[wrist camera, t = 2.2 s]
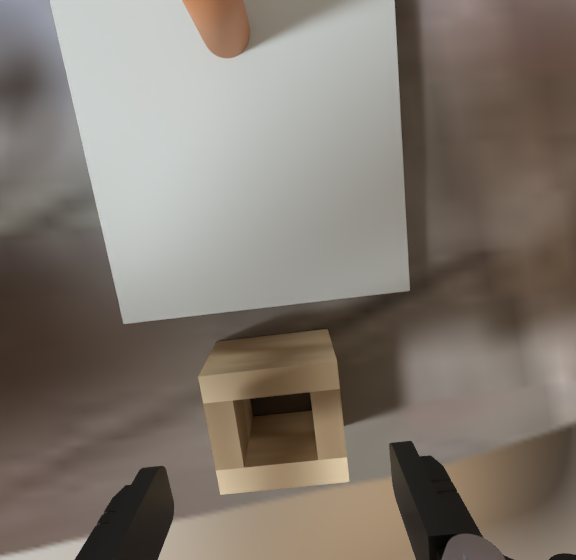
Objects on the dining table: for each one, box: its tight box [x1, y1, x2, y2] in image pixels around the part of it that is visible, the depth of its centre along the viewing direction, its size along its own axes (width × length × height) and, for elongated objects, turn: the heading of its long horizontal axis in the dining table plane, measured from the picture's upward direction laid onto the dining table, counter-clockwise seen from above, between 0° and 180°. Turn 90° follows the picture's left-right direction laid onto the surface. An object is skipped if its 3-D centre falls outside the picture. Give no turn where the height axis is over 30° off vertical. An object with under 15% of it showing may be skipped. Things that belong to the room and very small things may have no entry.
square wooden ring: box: [198, 329, 349, 495], centre depth 18 cm, size 6×6×4 cm
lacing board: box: [50, 0, 410, 324], centre depth 13 cm, size 14×18×8 cm
